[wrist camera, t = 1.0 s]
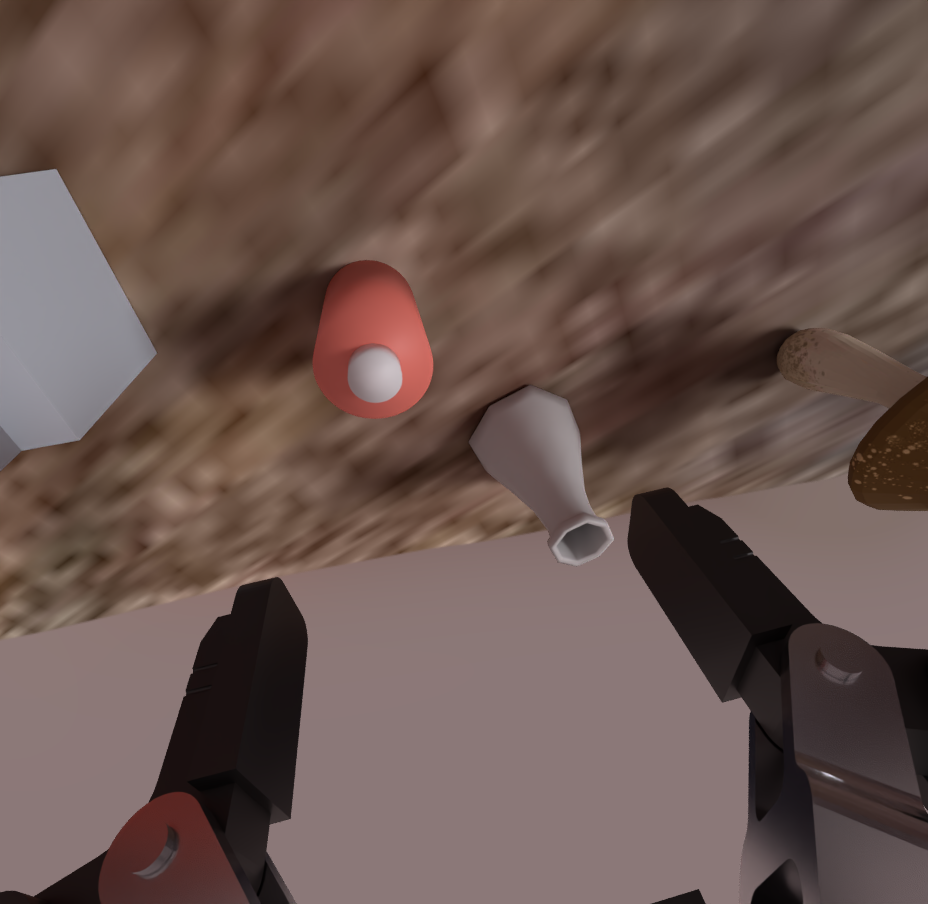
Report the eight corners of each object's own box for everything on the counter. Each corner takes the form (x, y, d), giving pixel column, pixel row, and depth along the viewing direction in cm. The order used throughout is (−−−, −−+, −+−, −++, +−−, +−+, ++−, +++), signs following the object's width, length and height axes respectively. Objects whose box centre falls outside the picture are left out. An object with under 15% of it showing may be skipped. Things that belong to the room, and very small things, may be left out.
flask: (531, 363, 27) (602, 460, 19) (595, 427, 31) (677, 531, 23) (448, 441, 30) (481, 558, 22) (517, 492, 33) (567, 608, 25)
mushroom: (886, 343, 32) (1208, 475, 20) (733, 434, 34) (938, 602, 22) (882, 225, 26) (1317, 307, 14) (702, 342, 29) (947, 496, 17)
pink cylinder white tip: (313, 268, 22) (292, 330, 15) (406, 253, 23) (426, 308, 16) (338, 355, 25) (330, 441, 18) (421, 340, 25) (444, 419, 18)
